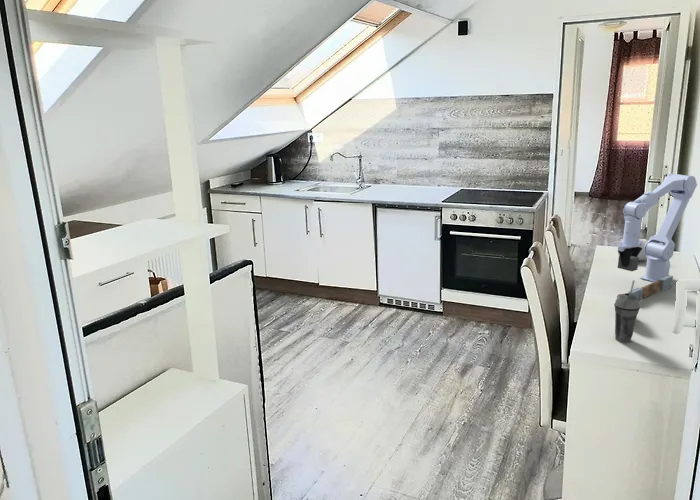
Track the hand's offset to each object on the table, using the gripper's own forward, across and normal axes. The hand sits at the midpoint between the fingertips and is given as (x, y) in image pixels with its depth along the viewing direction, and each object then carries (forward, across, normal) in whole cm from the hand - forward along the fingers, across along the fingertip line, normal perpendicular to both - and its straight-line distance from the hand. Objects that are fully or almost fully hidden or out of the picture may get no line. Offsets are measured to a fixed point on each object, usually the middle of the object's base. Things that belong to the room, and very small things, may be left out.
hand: (627, 265), depth 223 cm
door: (+8, +3, +12) cm, 15 cm away
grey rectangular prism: (+1, 0, 0) cm, 1 cm away
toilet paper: (+9, -35, -17) cm, 40 cm away
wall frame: (+8, +4, +12) cm, 15 cm away
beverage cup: (+9, +49, +27) cm, 56 cm away
